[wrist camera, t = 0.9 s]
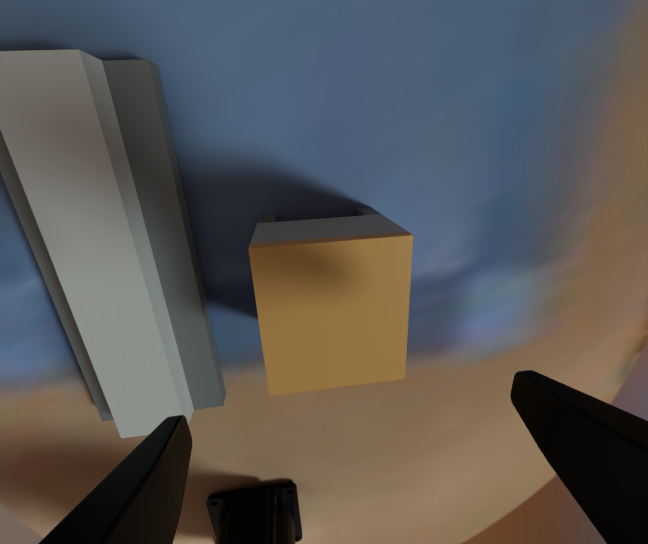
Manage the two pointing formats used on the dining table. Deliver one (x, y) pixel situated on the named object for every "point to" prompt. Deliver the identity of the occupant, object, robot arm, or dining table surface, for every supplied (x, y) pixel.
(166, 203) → the rail
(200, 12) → the dining table surface
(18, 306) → the dining table surface
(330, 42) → the dining table surface
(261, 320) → the block
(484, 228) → the dining table surface
